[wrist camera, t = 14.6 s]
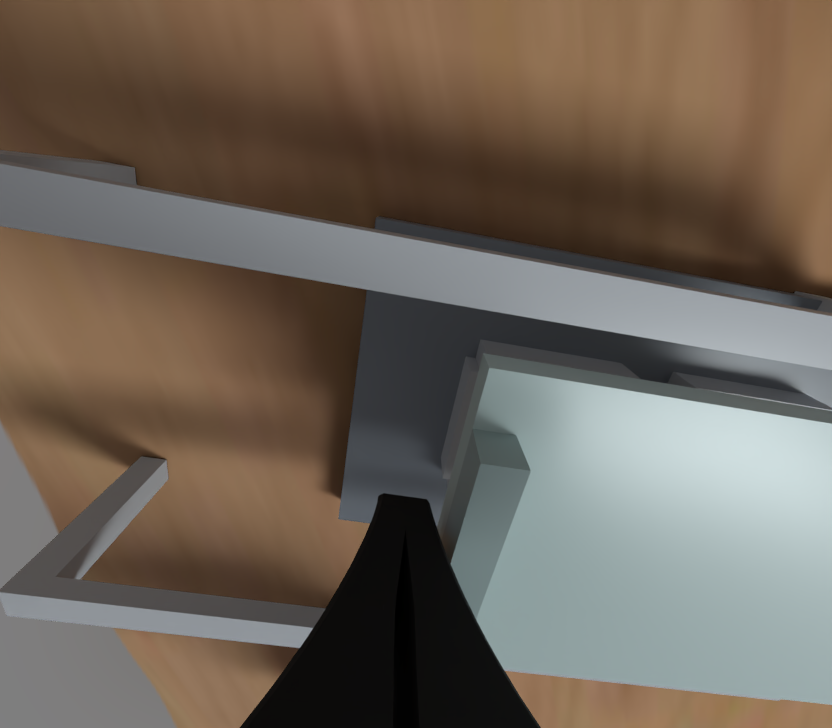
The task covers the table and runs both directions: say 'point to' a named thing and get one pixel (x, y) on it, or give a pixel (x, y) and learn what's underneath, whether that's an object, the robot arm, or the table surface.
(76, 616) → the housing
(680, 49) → the table surface
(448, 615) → the robot arm
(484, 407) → the lid
